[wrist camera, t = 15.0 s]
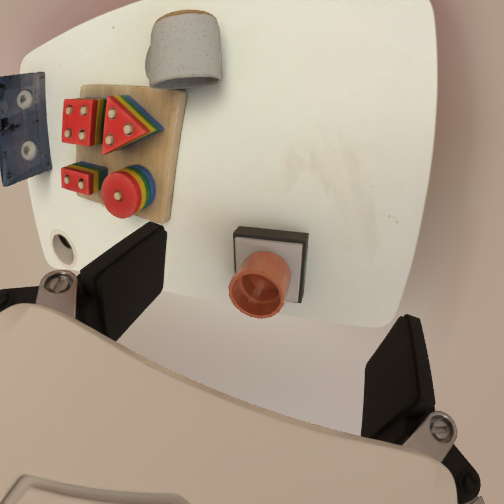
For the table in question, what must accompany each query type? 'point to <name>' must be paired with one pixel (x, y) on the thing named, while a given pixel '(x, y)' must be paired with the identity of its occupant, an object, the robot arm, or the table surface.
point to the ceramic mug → (184, 51)
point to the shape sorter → (124, 147)
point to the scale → (279, 243)
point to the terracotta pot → (260, 285)
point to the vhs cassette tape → (23, 127)
